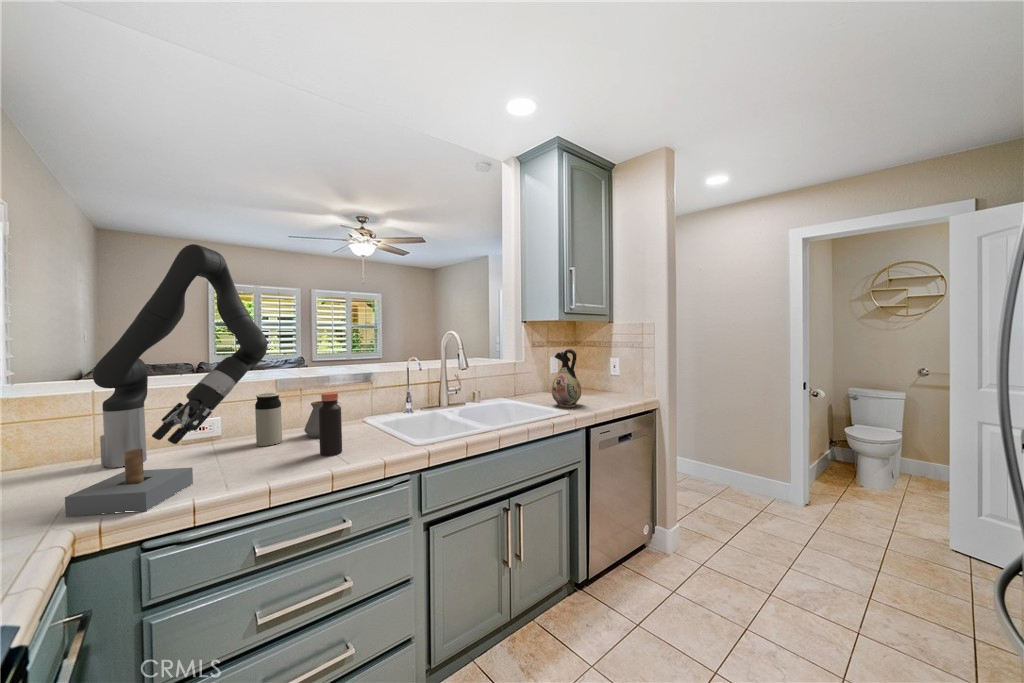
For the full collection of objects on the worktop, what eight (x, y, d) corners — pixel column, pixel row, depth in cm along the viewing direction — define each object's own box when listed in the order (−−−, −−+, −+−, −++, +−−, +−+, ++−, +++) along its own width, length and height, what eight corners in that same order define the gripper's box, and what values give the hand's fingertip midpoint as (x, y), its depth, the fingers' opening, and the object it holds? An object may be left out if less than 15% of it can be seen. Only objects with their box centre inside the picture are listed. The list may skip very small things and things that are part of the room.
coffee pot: (299, 435, 152) (298, 397, 152) (329, 429, 161) (328, 393, 160) (322, 446, 138) (321, 403, 138) (354, 439, 147) (353, 399, 146)
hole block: (65, 517, 87) (64, 497, 87) (125, 488, 103) (124, 471, 103) (146, 511, 89) (145, 492, 89) (193, 483, 105) (192, 467, 105)
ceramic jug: (545, 406, 203) (545, 349, 202) (561, 402, 215) (561, 347, 214) (574, 410, 192) (573, 350, 191) (589, 405, 204) (589, 348, 203)
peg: (122, 502, 94) (120, 453, 94) (133, 496, 97) (131, 449, 97) (137, 501, 95) (135, 452, 94) (147, 495, 98) (145, 448, 97)
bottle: (315, 455, 128) (313, 394, 127) (331, 449, 134) (330, 391, 134) (330, 457, 126) (329, 395, 125) (346, 451, 132) (345, 392, 131)
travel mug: (267, 447, 137) (265, 396, 136) (251, 445, 140) (249, 395, 139) (287, 441, 144) (285, 393, 144) (271, 439, 147) (270, 392, 147)
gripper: (187, 380, 111) (136, 429, 102) (214, 383, 105) (163, 436, 95) (209, 395, 116) (162, 444, 106) (236, 399, 110) (189, 451, 100)
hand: (163, 440), depth 101 cm, fingers open, 8 cm apart
